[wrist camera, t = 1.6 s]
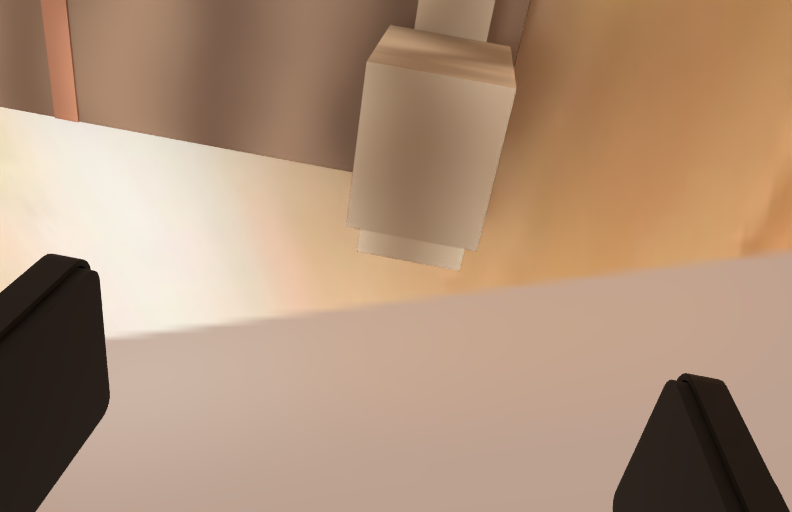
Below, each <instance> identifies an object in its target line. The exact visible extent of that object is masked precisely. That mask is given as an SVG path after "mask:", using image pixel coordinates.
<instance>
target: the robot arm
mask: <svg viewBox="0 0 792 512" xmlns="http://www.w3.org/2000/svg"><path fill="white" fill-rule="evenodd" d="M109 398H110V391H109V380H108V369H107V357H106V346H105V335H104V323H103V312H102V301H101V289H100V279H99V275H98V273H97V272H96V271H93V270H91V269H90V265H89V264H88V262H87V261H85V260H83V259H78V258H72V257H67V256H62V255H56V254H47V255H45V256H44V257H42V258H41V259H40V260H39V261H37V262H36V263H35V264H34V265H33V266H31V267H30V268H29V269H28V270H27V271H26V272H24V273H23V274H22V275H21V276H20V277H18V278H17V279H16V280H15V281H14V282H12V283H11V284H10V285H9V286H8V287H7V288H5V289H4V290H3V291H2V292H1V293H0V512H36V510H37V509H38V507H39V506H40V505H41V503H42V502H43V500H44V499H45V497H46V496H47V495H48V493H49V492H50V490H51V489H52V488H53V486H54V485H55V484H56V482H57V481H58V479H59V478H60V476H61V475H62V474H63V472H64V471H65V470H66V468H67V467H68V465H69V464H70V462H71V461H72V460H73V458H74V457H75V455H76V454H77V453H78V451H79V450H80V448H81V447H82V445H83V444H84V443H85V441H86V440H87V439H88V437H89V436H90V434H91V433H92V432H93V430H94V429H95V427H96V426H97V424H98V423H99V422H100V420H101V419H102V417H103V416H104V414H105V412H106V410H107V407H108V404H109ZM613 512H790V511H789V509H788V507H787V505H786V503H785V501H784V499H783V497H782V495H781V493H780V492H779V489H778V487H777V485H776V484H775V482H774V481H773V479H772V477H771V475H770V473H769V471H768V469H767V467H766V465H765V463H764V461H763V459H762V457H761V455H760V453H759V451H758V449H757V446H756V444H755V442H754V441H753V438H752V436H751V434H750V432H749V430H748V428H747V426H746V424H745V423H744V420H743V418H742V417H741V415H740V412H739V410H738V408H737V406H736V404H735V402H734V400H733V398H732V396H731V394H730V392H729V390H728V388H727V386H726V385H725V384H724V382H723V381H721V380H719V379H714V378H709V377H703V376H698V375H693V374H687V373H685V374H682V375H681V376H680V377H679V378H678V379H677V381H676V380H669V381H668V382H667V383H666V384H665V386H664V388H663V390H662V392H661V394H660V397H659V399H658V401H657V403H656V405H655V407H654V410H653V412H652V414H651V416H650V418H649V420H648V423H647V425H646V427H645V429H644V431H643V433H642V436H641V438H640V440H639V442H638V444H637V446H636V448H635V451H634V453H633V455H632V457H631V459H630V461H629V464H628V466H627V468H626V470H625V472H624V475H623V477H622V479H621V481H620V483H619V485H618V488H617V490H616V492H615V495H614V500H613Z"/></svg>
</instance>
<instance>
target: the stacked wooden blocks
mask: <svg viewBox="0 0 792 512" xmlns="http://www.w3.org/2000/svg"><path fill="white" fill-rule="evenodd" d="M494 4H495V0H419V2H418V8H417V15H416V21H415V27H414V29H410V28H405V27H399V26H394V25H390V26H389V28H388V29H387V31H386V32H385V34H384V35H383V37H382V38H381V40H380V42H379V43H378V45H377V46H376V48H375V49H374V51H373V52H372V54H371V56H370V57H369V59H368V60H367V63H366V71H365V79H364V87H363V95H362V103H361V111H360V119H359V127H358V135H357V143H356V151H355V159H354V167H353V175H352V183H351V191H350V200H349V208H348V216H347V224H346V227H349V228H354V229H360V236H359V243H358V250H357V252H362V253H367V254H372V255H378V256H383V257H388V258H393V259H399V260H404V261H409V262H415V263H420V264H425V265H430V266H436V267H441V268H446V269H452V270H457V271H460V267H461V262H462V258H463V254H464V250H465V249H466V250H471V251H477V248H478V244H479V240H480V236H481V232H482V228H483V224H484V220H485V216H486V212H487V208H488V203H489V199H490V195H491V191H492V187H493V183H494V179H495V175H496V171H497V167H498V163H499V159H500V155H501V150H502V146H503V142H504V138H505V134H506V130H507V126H508V122H509V118H510V114H511V110H512V106H513V101H514V97H515V93H516V89H517V88H516V81H515V74H514V67H513V61H512V54H511V47H510V46H505V45H500V44H494V43H488V42H486V41H487V36H488V32H489V27H490V22H491V18H492V13H493V8H494Z"/></svg>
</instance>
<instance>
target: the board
mask: <svg viewBox="0 0 792 512" xmlns="http://www.w3.org/2000/svg"><path fill="white" fill-rule="evenodd" d="M418 2H419V0H0V107H5V108H10V109H15V110H21V111H26V112H32V113H37V114H42V115H48V116H53V117H55V118H58V119H64V120H69V121H74V122H79V121H80V122H85V123H91V124H96V125H101V126H107V127H112V128H118V129H123V130H128V131H134V132H139V133H144V134H150V135H155V136H161V137H166V138H171V139H177V140H182V141H187V142H193V143H198V144H204V145H209V146H214V147H220V148H225V149H230V150H236V151H241V152H247V153H252V154H257V155H263V156H268V157H273V158H279V159H284V160H290V161H295V162H300V163H306V164H311V165H316V166H322V167H327V168H333V169H338V170H343V171H349V172H353V167H354V159H355V151H356V143H357V135H358V127H359V119H360V111H361V103H362V95H363V87H364V79H365V71H366V63H367V60H368V59H369V57H370V56H371V54H372V52H373V51H374V49H375V48H376V46H377V45H378V43H379V42H380V40H381V38H382V37H383V35H384V34H385V32H386V31H387V29H388V28H389V26H390V25H394V26H399V27H405V28H410V29H414V27H415V21H416V15H417V8H418ZM529 3H530V0H495V4H494V8H493V13H492V18H491V22H490V27H489V32H488V36H487V41H486V42H488V43H494V44H500V45H505V46H510V47H511V54H512V61H513V67H514V65H515V61H516V57H517V53H518V49H519V45H520V40H521V36H522V32H523V28H524V24H525V19H526V15H527V11H528V7H529Z"/></svg>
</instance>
